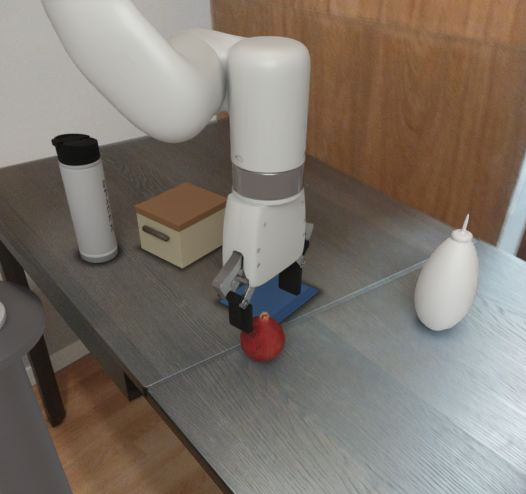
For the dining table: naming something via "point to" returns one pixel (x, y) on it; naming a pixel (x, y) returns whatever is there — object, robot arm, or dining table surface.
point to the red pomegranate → (263, 339)
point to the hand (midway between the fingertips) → (266, 308)
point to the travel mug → (87, 196)
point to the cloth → (275, 299)
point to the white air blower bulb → (448, 281)
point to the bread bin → (182, 223)
